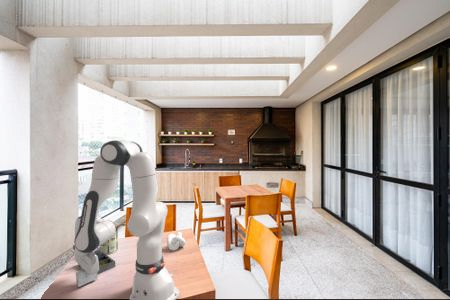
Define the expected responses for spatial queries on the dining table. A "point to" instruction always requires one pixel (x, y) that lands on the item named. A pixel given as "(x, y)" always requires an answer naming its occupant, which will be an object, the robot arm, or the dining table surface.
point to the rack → (104, 261)
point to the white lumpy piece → (175, 241)
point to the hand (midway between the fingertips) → (87, 276)
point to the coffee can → (110, 244)
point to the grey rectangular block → (83, 277)
